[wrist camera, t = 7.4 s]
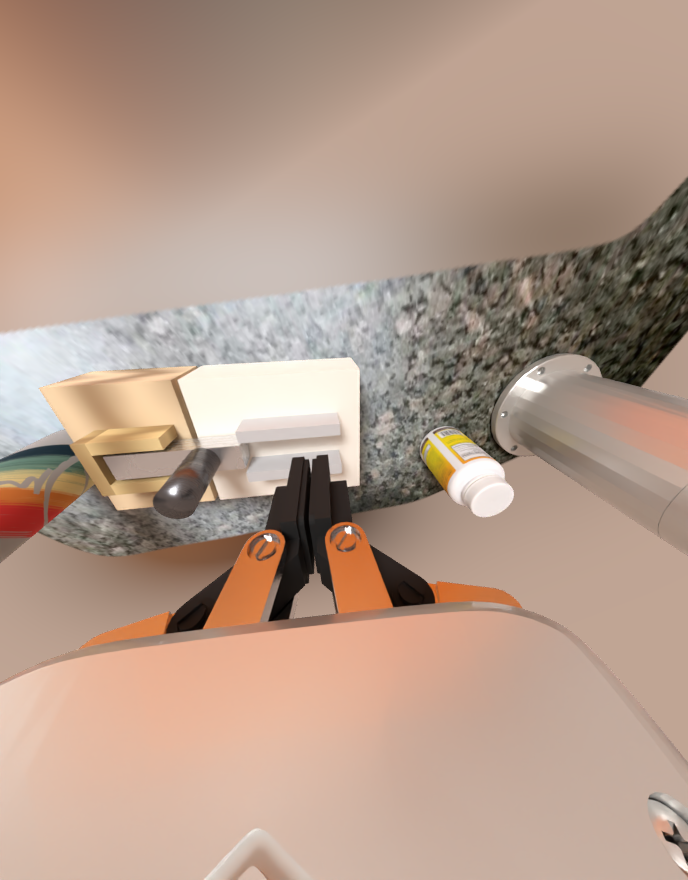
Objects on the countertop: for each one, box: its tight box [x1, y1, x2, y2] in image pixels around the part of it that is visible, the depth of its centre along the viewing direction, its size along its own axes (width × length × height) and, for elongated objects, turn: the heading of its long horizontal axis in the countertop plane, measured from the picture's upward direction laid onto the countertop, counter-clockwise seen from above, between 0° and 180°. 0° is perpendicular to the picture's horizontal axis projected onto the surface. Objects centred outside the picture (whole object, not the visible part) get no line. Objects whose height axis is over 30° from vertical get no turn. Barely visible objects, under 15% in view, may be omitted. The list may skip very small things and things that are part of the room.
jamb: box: [39, 366, 218, 510], centre depth 22 cm, size 9×12×7 cm
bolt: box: [103, 435, 251, 519], centre depth 18 cm, size 10×2×7 cm, turn 92°
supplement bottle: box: [420, 426, 514, 517], centre depth 26 cm, size 6×6×10 cm
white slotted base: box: [178, 358, 360, 500], centre depth 23 cm, size 14×12×7 cm
